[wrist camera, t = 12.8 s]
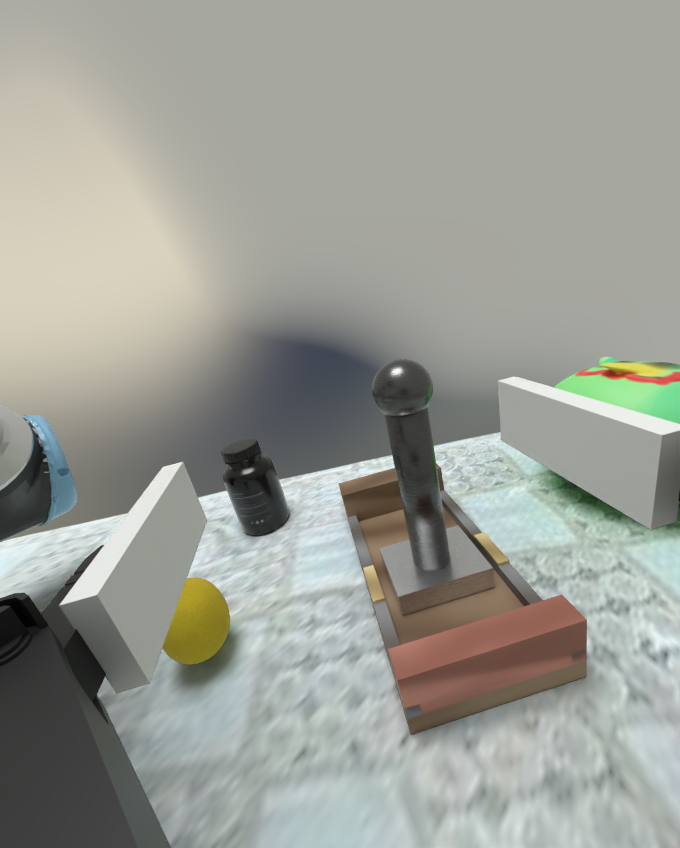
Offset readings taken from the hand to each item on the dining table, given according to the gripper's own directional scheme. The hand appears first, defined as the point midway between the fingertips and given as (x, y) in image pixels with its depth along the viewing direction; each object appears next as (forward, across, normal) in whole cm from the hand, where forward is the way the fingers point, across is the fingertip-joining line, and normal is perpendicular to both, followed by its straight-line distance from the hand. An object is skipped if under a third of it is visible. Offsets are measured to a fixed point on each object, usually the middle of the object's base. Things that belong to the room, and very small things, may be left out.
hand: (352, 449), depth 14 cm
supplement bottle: (+30, -11, -21) cm, 39 cm away
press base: (+13, +6, -20) cm, 25 cm away
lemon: (+11, -15, -21) cm, 28 cm away
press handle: (+11, +6, -19) cm, 23 cm away
